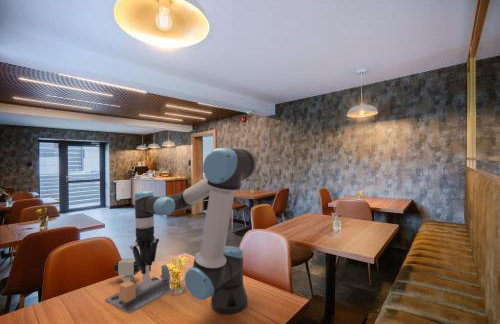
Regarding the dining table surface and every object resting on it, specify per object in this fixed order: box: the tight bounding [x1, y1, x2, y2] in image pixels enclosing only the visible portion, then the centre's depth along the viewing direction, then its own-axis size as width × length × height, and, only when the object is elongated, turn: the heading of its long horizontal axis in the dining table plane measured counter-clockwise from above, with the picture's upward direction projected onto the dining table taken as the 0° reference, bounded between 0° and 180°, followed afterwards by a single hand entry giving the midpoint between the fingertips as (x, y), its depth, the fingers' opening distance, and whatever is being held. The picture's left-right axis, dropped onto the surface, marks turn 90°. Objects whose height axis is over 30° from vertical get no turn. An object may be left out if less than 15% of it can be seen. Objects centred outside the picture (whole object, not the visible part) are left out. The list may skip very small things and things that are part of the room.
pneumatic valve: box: [113, 257, 141, 283], centre depth 122 cm, size 6×12×12 cm, turn 89°
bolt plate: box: [104, 276, 172, 315], centre depth 111 cm, size 18×24×1 cm
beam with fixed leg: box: [122, 264, 171, 307], centre depth 110 cm, size 6×22×8 cm, turn 148°
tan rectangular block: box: [118, 280, 136, 303], centre depth 102 cm, size 6×4×8 cm, turn 58°
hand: (146, 280), depth 108 cm, fingers closed
